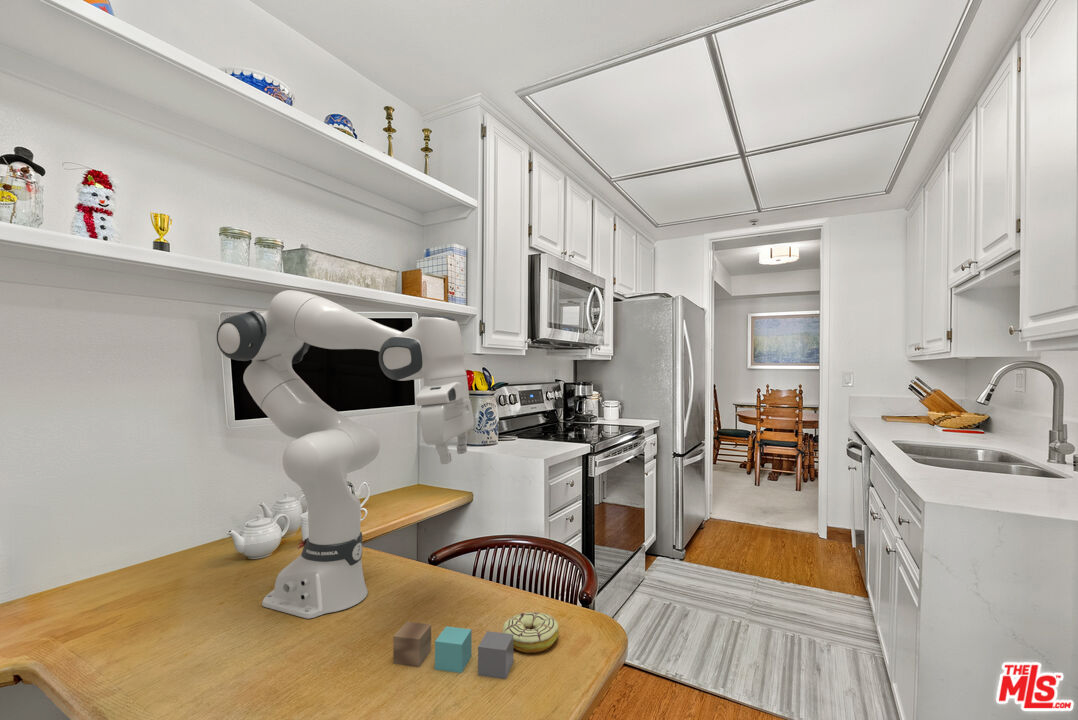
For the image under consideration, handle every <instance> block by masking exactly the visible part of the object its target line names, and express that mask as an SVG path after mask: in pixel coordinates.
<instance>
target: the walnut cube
mask: <svg viewBox="0 0 1078 720" xmlns="http://www.w3.org/2000/svg"><path fill="white" fill-rule="evenodd" d="M392 640H393V643H392V645H393V646H392V647H393V649H392V650H393V659H392V660H393V662H392V664H394V665H402V666H408V667H416V668H420V667H421V665H422V664H423V663H424V661H425V660H426V659H427V657H428V656H429V654H430V653H431V651H432V624H428V623H420V622H413V621H406V622H405V623H404V624H403V625H402V626H401V627H400V628H399V629H398V630H397V632H396V633H395V634H394V635H393V637H392Z"/></svg>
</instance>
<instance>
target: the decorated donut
mask: <svg viewBox="0 0 1078 720" xmlns="http://www.w3.org/2000/svg"><path fill="white" fill-rule="evenodd" d="M559 632H560V631H559V622H558V621H557V620H556V619H555V617H553V616H551V615H549V614H547V613H542V612H537V611H535V612H534V611H532V612H531V611H528V612H521V613H519V614H515V615H513V616H512V617H509V618H508V619H507V620H506V621H505V622H504V624H503V626H502V633H507V634H513V649H515V650H516V651H518V652H521V653H526V654H528V653H529V654H532V653H533V654H534V653H541V652H544V651H546V650H548V649H549V648H551V647H553V645H554V643H555V642H556V640H557V639H558V637H559Z"/></svg>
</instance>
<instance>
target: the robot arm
mask: <svg viewBox="0 0 1078 720" xmlns="http://www.w3.org/2000/svg"><path fill="white" fill-rule="evenodd" d="M216 342H217V346H218V348H219V350H220V351H221V353H222V354H223V355H224V356H225V357H226V358H228V359H231V360H235V361H239V362H240V361H241V362H248V361H251V363H250V364H249V365H248V366H247V367H246V368H245V370H244V373H243V378H242V379H243V384H244V385H245V387H246V389H247V391H248V392H249V394H250V396H251V397H252V399H253V401H254V402H255V404H256V405H257V406H258V407H259V409H261V410H262V412H263V413H264V414H265V415H266V416H267V418H268V419H269V420H270V421H271V422H272V423H273V424H274V426H276V428H277V429H278V430H279V431H280V432H281V434H282V433H283V435H286V436H287V437H289V438H293V439H294V440H293V441H291V442H290V443H288V445H287V446H286V448H285V449H284V451H283V455H282V467H283V470H284V472H285V474H286V476H287V477H288V478H289V479H290V480H291V481H292V482H293V483H295V484H297V486H299V487H300V489H301V491H302V493H303V496H304V498H305V501H306V502H305V503H306V506H307V513H308V514H307V518H308V519H307V520H308V521H307V523H308V537H307V538H305V539H304V540H302V541H301V542H299V543H297V546H298V547H297V549H298V550H299V549H301V548H302V551H301V553H300V555H298V557H296V558H295V559H294V560H292V561H291V562H290V563H288V565H287V566H285V567H284V568H282V570H280V571H279V572H278V575H277V576H276V579H275V583H274V588H273V590H271V591H269V592H268V594H266V595H265V596H264V598H263V600H262V601H261V602H262V603H261V606H262V607H264V608H268V609H271V610H275V611H279V612H282V613H286V614H289V615H292V616H296V617H299V618H304V619H314V618H316V617H319V616H322V615H325V614H330V613H335V612H340V611H342V610H346V609H349V608H352V607H354V606H355V605H358V604H359V603H361V602H362V601H363V600H364V599H365V598H366V597H367V596H368V592H369V591H368V588H367V586H366V580H365V578H364V571H363V563H362V556H363V532H362V531H361V501H360V499H359V498H360V497H358V496H357V495H356V494H355V493H352V492H351V491H350V487H349V485H348V479H347V478H348V477H347V475H348V474H349V473H353V472H355V471H356V472H357V471H359V470H361V469H363V468H364V467H366V466H368V465H369V464H370V463H371V462H374V460H375V459H376V458H377V456H378V454H379V452H380V449H381V448H380V447H381V445H380V444H381V443H380V439H379V436H378V435H377V433H376V432H375V431H374V430H373V429H371V428H370V427H368V426H364V425H362V424H359V423H357V422H355V421H353V420H352V419H350V418H348V417H347V416H345V415H343V414H342V413H341V412H339V411H337V410H336V409H334V408H332V407H331V406H330V405H329V404H327V403H326V402H325V401H323V400H322V399H321V398H320V397H319V396H318V394H316V392H314V391H313V389H312V388H310V386H309V384H307V383H306V382H305V381H304V380H303V379H302V378H301V377H300V376H299V375H298V374H297V373H296V372H295V370H294V369H293V365H296V364H298V363H300V362H302V360H303V358H304V355H305V354H307V352H308V351H309V349H310V348H311V346H313V347H318V348H322V349H326V350H327V349H328V350H355V349H356V350H372V351H376V352H378V362H379V367H380V369H381V371H382V372H383V374H384V375H385V376H386V377H387V378H389V379H391V380H394V381H399V382H400V381H411V380H412V381H413V380H422V379H423V385H424V386H423V387H422V388H421V390H420V391H419V392H418V393H417V394H416V396H415V401H416V405H417V406H418V407H420V408H419V421H420V428H421V433H422V434H421V435H422V438H423V440H424V442H425V444H426V445H429V446H430V445H431V446H432V445H435V449H436V452H437V453H438V455H439V460H440V461H439V462H440V464H441V465H448V464H450V463H451V462H452V461H453V459H452V454H451V453H450V451H449V448H448V446H449V441H450V440H452V439H454V438H457V445H456V453H457V454H458V455H463V454H466V453H467V452H468V446H467V444H468V443H467V442H468V437H469V436H468V435H469V433H468V432H469V431H470V430H472V429H474V425H475V418H474V413H473V406H472V401H471V399H470V392H469V384H468V383H469V382H468V376H467V371H466V369H465V365H464V361H465V360H464V359H465V349H464V342H463V337H462V332H461V328H460V325H459V323H458V320H457V319H455V318H454V317H453V316H451V315H450V316H449V315H438V314H426V315H425V314H424V315H422V316H420V317H419V319H418V320H417V321H416V322H415V323H414V324H413V325H412V326H411V327H409V328H408V329H407V330H404V331H402V330H398V329H397V328H394V327H390V326H387V325H384V324H382V323H379V322H376V321H374V320H372V319H370V318H368V317H366V316H363V315H362V314H359V313H357V312H355V311H353V310H351V309H350V308H346V307H345V306H343V305H341V304H339V303H336V302H334V301H332V300H330V299H328V298H325V297H323V296H319V295H317V294H313V293H310V292H306V291H300V290H295V289H294V290H293V289H292V290H291V289H290V290H288V289H287V290H283V291H279V293H277V294H275V295H274V297H273V298H272V300H270V303H269V307H268V309H267V310H266V311H264V312H256V311H255V310H249V311H247V312H244V313H238V314H234V315H232V316H228V317H227V318H225V319H224V320H223V321H221V323H220V324H219V326H218V327H217V331H216Z"/></svg>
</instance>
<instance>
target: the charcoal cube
mask: <svg viewBox="0 0 1078 720" xmlns="http://www.w3.org/2000/svg"><path fill="white" fill-rule="evenodd" d="M513 663H514V648H513V634H507V633H503V632H497V631H490V630H488V631H487V630H486V632H485V634H484V636H483V638H482V639H481V641H480V642H479V644H478V645H477V676H480V677H488V678H495V679H503V680H507V677H508V675H509V674H510V670H511V668H512V666H513Z"/></svg>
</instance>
